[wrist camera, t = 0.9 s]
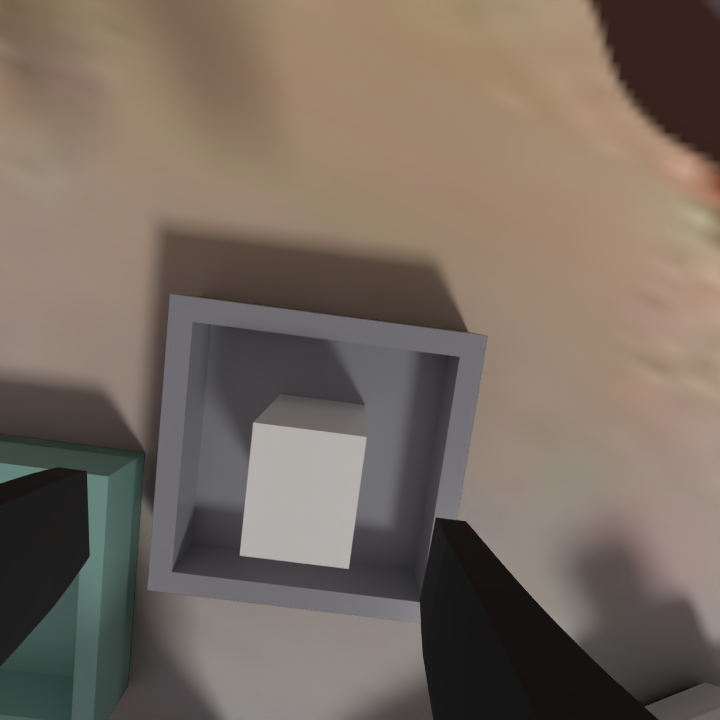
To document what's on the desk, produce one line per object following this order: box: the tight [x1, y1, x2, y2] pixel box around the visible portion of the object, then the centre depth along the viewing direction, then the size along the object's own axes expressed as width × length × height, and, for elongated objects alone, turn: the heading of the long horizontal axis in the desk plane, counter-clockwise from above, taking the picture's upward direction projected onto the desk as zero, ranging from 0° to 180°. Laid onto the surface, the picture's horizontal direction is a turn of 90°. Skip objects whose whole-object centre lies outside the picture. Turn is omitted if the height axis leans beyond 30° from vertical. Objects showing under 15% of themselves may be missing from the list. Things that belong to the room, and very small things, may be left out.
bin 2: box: [147, 294, 488, 623], centre depth 19 cm, size 13×13×3 cm
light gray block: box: [240, 394, 367, 569], centre depth 17 cm, size 5×4×5 cm
